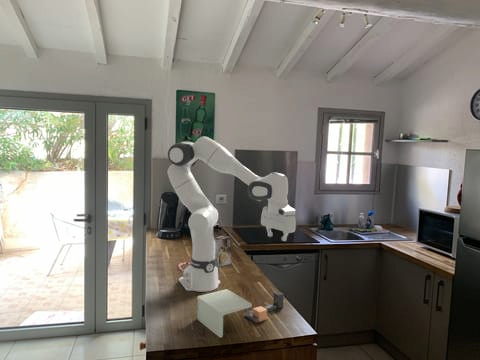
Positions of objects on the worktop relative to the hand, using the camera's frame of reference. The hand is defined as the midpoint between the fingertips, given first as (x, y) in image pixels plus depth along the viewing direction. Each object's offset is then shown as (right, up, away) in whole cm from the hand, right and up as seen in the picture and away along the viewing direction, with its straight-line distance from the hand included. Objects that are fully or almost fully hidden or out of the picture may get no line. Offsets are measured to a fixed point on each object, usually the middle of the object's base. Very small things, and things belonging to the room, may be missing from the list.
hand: (276, 238), depth 164 cm
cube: (-9, -29, -20) cm, 36 cm away
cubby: (-23, -29, -24) cm, 44 cm away
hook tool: (-5, -28, -15) cm, 33 cm away
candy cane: (-48, -24, +39) cm, 66 cm away
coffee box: (-28, -23, +47) cm, 59 cm away
